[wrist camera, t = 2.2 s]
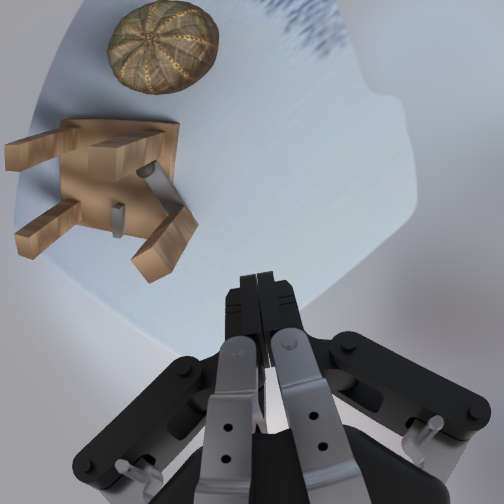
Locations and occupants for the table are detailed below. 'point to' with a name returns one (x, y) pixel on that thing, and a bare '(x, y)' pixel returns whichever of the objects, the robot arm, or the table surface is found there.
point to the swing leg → (164, 227)
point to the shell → (163, 47)
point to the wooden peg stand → (97, 177)
